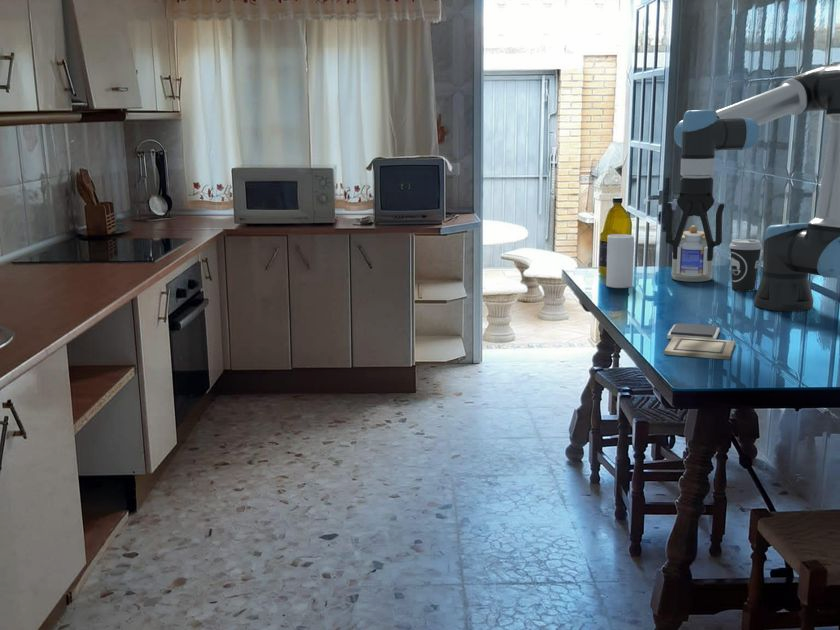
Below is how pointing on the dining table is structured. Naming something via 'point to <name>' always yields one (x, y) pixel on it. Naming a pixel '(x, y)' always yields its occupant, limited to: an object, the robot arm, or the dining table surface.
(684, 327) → the ink pad
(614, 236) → the cup
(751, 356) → the dining table surface
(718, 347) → the marked board
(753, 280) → the coffee cup
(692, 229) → the jar
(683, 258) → the pill bottle
